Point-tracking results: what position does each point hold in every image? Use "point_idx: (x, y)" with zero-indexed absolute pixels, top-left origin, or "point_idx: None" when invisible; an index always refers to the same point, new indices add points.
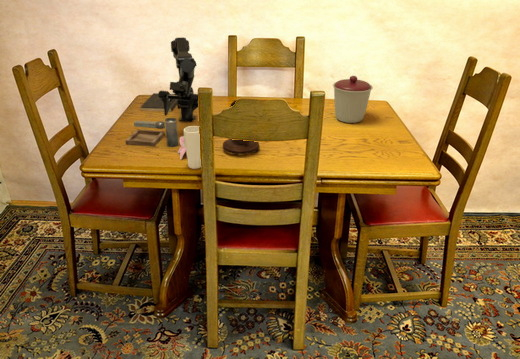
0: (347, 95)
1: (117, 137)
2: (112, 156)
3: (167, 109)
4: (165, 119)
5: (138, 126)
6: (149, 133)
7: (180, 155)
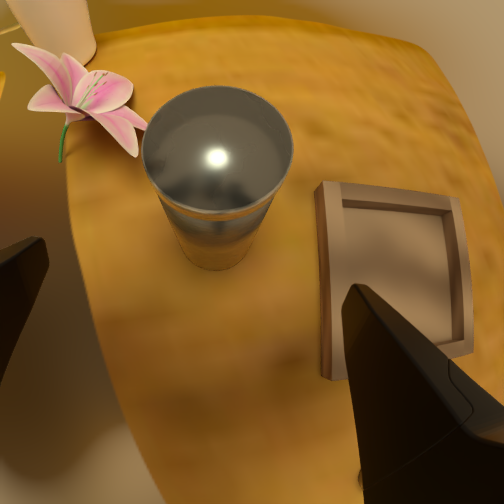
0: None
1: (498, 276)
2: (416, 97)
3: (375, 380)
4: (287, 142)
5: None
6: None
7: (130, 89)
